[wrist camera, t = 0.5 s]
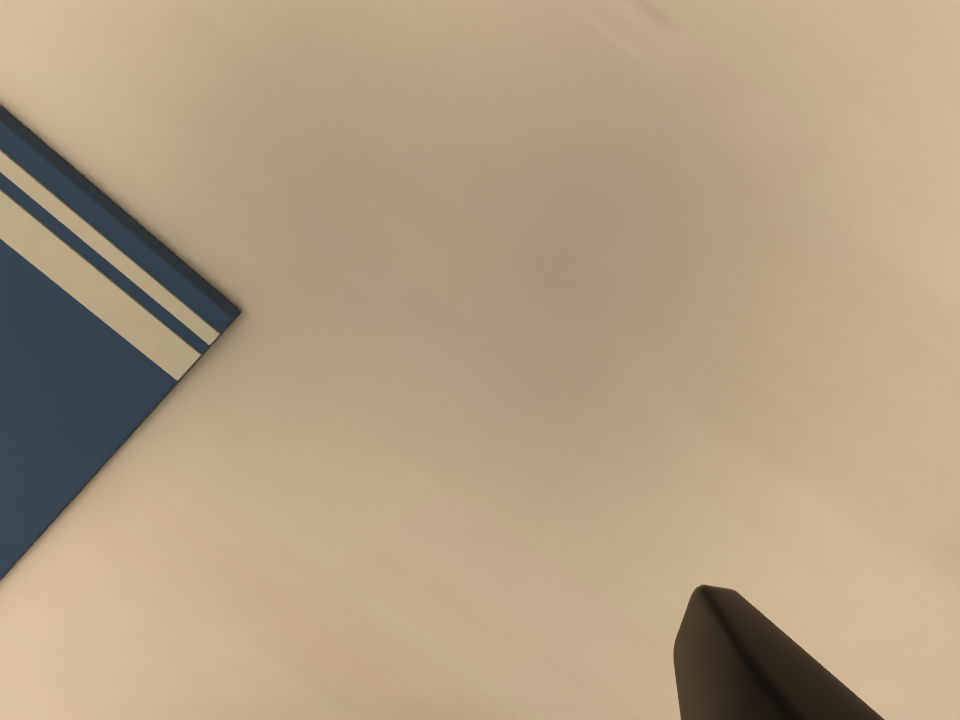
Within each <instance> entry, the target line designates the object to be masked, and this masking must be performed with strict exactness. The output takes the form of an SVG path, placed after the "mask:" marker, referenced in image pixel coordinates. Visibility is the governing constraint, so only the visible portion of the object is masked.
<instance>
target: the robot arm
mask: <svg viewBox="0 0 960 720" xmlns="http://www.w3.org/2000/svg"><path fill="white" fill-rule="evenodd" d="M674 668H675V676H676V683H677V691H678V699H679V707H680V714H681V720H884V719H883V718H882V717H881V716H880V715H878V714H877V713H876V712H875V711H874V710H873V709H872V708H870V707H869V706H868V705H867V704H866V703H865V702H863V701H862V700H861V699H860V698H859V697H858V696H857V695H855V694H854V693H853V692H852V691H851V690H850V689H848V688H847V687H846V686H845V685H844V684H843V683H842V682H840V681H839V680H838V679H837V678H836V677H835V676H833V675H832V674H831V673H830V672H829V671H828V670H827V669H825V668H824V667H823V666H822V665H821V664H820V663H818V662H817V661H816V660H815V659H814V658H813V657H812V656H810V655H809V654H808V653H807V652H806V651H805V650H803V649H802V648H801V647H800V646H799V645H798V644H797V643H795V642H794V641H793V640H792V639H791V638H790V637H788V636H787V635H786V634H785V633H784V632H783V631H782V630H780V629H779V628H778V627H777V626H776V625H775V624H773V623H772V622H771V621H770V620H769V619H768V618H767V617H765V616H764V615H763V614H762V613H761V612H760V611H758V610H757V609H756V608H755V607H754V606H753V605H752V604H750V603H749V602H748V601H747V600H746V599H745V598H743V597H742V596H741V595H740V594H739V593H737V592H736V591H734V590H732V589H727V588H721V587H715V586H708V585H701V586H699V587H697V588H696V589H695V590H694V592H693V593H692V595H691V598H690V601H689V604H688V606H687V609H686V612H685V615H684V617H683V620H682V623H681V626H680V628H679V631H678V634H677V637H676V640H675V645H674Z"/></svg>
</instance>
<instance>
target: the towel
mask: <svg viewBox="0 0 960 720" xmlns="http://www.w3.org/2000/svg"><path fill="white" fill-rule="evenodd" d="M240 313H241V311H240V310H239V309H238V308H236V307H235V306H234V305H233V304H232V303H231V302H229V301H228V300H227V299H226V298H225V297H224V296H222V295H221V294H220V293H219V292H218V291H217V290H215V289H214V288H213V287H212V286H211V285H210V284H208V283H207V282H206V281H205V280H204V279H203V278H201V277H200V276H199V275H198V274H197V273H195V272H194V271H193V270H192V269H191V268H190V267H188V266H187V265H186V264H185V263H184V262H183V261H181V260H180V259H179V258H178V257H177V256H176V255H174V254H173V253H172V252H171V251H170V250H169V249H167V248H166V247H165V246H164V245H163V244H162V243H160V242H159V241H158V240H157V239H156V238H154V237H153V236H152V235H151V234H150V233H149V232H147V231H146V230H145V229H144V228H143V227H142V226H140V225H139V224H138V223H137V222H136V221H135V220H133V219H132V218H131V217H130V216H129V215H128V214H126V213H125V212H124V211H123V210H122V209H121V208H119V207H118V206H117V205H116V204H115V203H114V202H112V201H111V200H110V199H109V198H108V197H106V196H105V195H104V194H103V193H102V192H101V191H99V190H98V189H97V188H96V187H95V186H94V185H92V184H91V183H90V182H89V181H88V180H87V179H85V178H84V177H83V176H82V175H81V174H80V173H78V172H77V171H76V170H75V169H74V168H73V167H71V166H70V165H69V164H68V163H67V162H66V161H64V160H63V159H62V158H61V157H60V156H58V155H57V154H56V153H55V152H54V151H53V150H51V149H50V148H49V147H48V146H47V145H46V144H44V143H43V142H42V141H41V140H40V139H39V138H37V137H36V136H35V135H34V134H33V133H32V132H30V131H29V130H28V129H27V128H26V127H25V126H23V125H22V124H21V123H20V122H19V121H18V120H16V119H15V118H14V117H13V116H12V115H10V114H9V113H8V112H7V111H6V110H5V109H3V108H2V107H1V106H0V580H1V579H2V578H3V577H4V576H5V575H6V574H7V572H8V571H9V570H10V569H11V568H12V567H13V566H14V565H15V564H16V562H17V561H18V560H19V559H20V558H21V557H22V556H23V555H24V554H25V552H26V551H27V550H28V549H29V548H30V547H31V546H32V545H33V544H34V542H35V541H36V540H37V539H38V538H39V537H40V536H41V535H42V534H43V532H44V531H45V530H46V529H47V528H48V527H49V526H50V525H51V524H52V522H53V521H54V520H55V519H56V518H57V517H58V516H59V515H60V514H61V512H62V511H63V510H64V509H65V508H66V507H67V506H68V505H69V504H70V502H71V501H72V500H73V499H74V498H75V497H76V496H77V495H78V494H79V492H80V491H81V490H82V489H83V488H84V487H85V486H86V485H87V484H88V482H89V481H90V480H91V479H92V478H93V477H94V476H95V475H96V473H97V472H98V471H99V470H100V469H101V468H102V467H103V466H104V465H105V463H106V462H107V461H108V460H109V459H110V458H111V457H112V456H113V455H114V453H115V452H116V451H117V450H118V449H119V448H120V447H121V446H122V445H123V443H124V442H125V441H126V440H127V439H128V438H129V437H130V436H131V435H132V433H133V432H134V431H135V430H136V429H137V428H138V427H139V426H140V425H141V423H142V422H143V421H144V420H145V419H146V418H147V417H148V416H149V415H150V413H151V412H152V411H153V410H154V409H155V408H156V407H157V406H158V405H159V403H160V402H161V401H162V400H163V399H164V398H165V397H166V396H167V395H168V393H169V392H170V391H171V390H172V389H173V388H174V387H175V386H176V385H177V383H178V382H179V381H180V380H181V379H182V378H183V377H184V376H185V375H186V373H187V372H188V371H189V370H190V369H191V368H192V367H193V366H194V364H195V363H196V362H197V361H198V360H199V359H200V358H201V357H202V356H203V354H204V353H205V352H206V351H207V350H208V349H209V348H210V347H211V346H212V344H213V343H214V342H215V341H216V340H217V339H218V338H219V337H220V336H221V334H222V333H223V332H224V331H225V330H226V329H227V328H228V327H229V326H230V324H231V323H232V322H233V321H234V320H235V319H236V318H237V317H238V316H239V314H240Z"/></svg>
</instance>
